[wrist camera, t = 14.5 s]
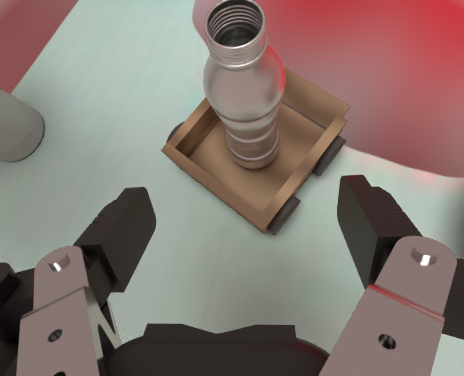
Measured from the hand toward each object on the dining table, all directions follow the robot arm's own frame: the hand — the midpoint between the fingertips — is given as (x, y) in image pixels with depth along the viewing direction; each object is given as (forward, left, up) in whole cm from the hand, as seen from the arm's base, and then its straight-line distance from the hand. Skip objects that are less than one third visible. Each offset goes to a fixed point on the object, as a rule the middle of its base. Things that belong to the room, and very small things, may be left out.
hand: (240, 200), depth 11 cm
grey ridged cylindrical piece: (-7, +8, -22) cm, 25 cm away
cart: (-7, +10, -23) cm, 27 cm away
